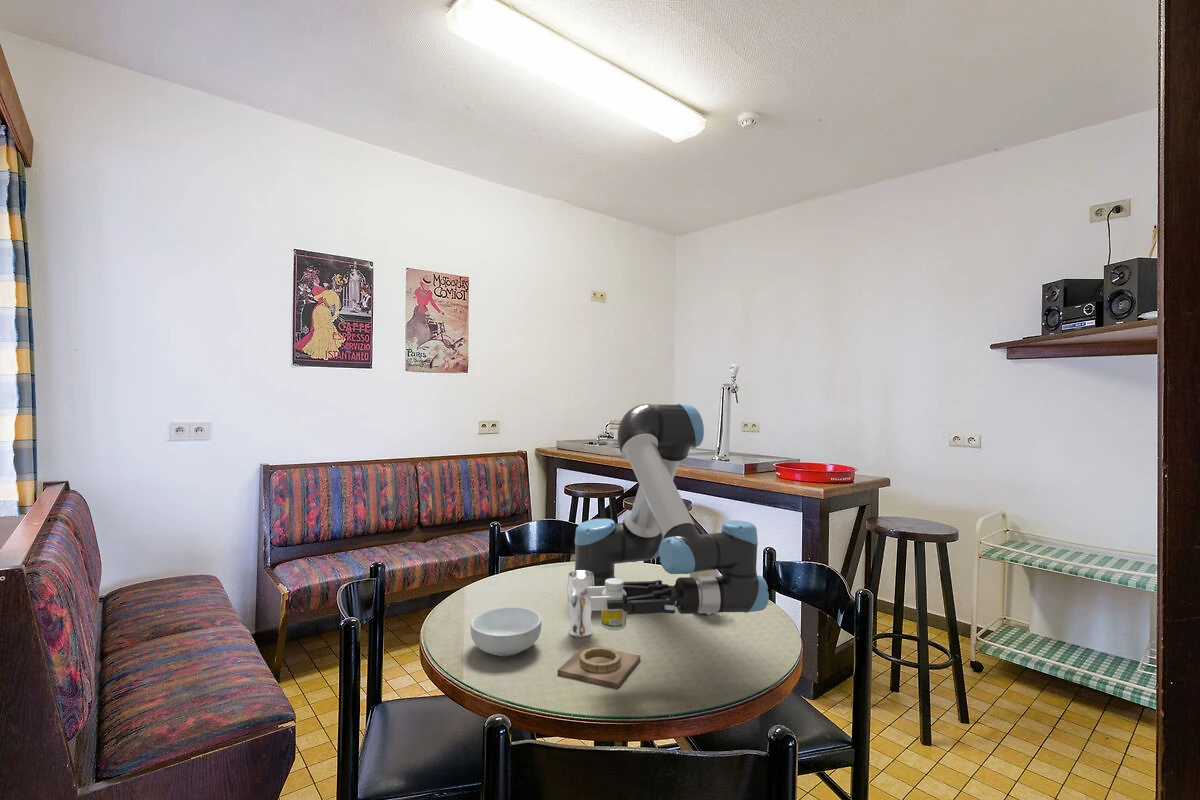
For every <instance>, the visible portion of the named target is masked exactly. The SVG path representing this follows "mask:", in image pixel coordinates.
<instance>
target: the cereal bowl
mask: <svg viewBox="0 0 1200 800" xmlns="http://www.w3.org/2000/svg"><path fill="white" fill-rule="evenodd" d="M541 631H542V617H541V615H540V614H539V613H538V612H537V611H535V610H533V609H530V608H526V607H520V606H519V607H517V606H507V607H505V606H504V607H499V608H492V609H489V610H485V611H483V612H480V613H478V614H477V615H475V616H474V617H472V619H471V621H470V635H471V639H472V641H473V643H474V644H475V646H476V647H477V648H478V649H479V650H481V651H483V652H485V653H488V654H491V655H494V654H496V655H495V656H497V655H501V656H500V657H510V655H512V656H515V655H518V654H520V653H521V652H524V651H525V650H527V649H529V648H531V647H532V646H533V645H534V644H535V643H536V642H537V641H538V639H539V637H540V635H541ZM517 653H518V654H517Z"/></svg>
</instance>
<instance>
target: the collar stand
mask: <svg viewBox="0 0 1200 800" xmlns="http://www.w3.org/2000/svg"><path fill="white" fill-rule="evenodd" d="M640 661H641V655H639V654H636V653H634V654H633V653H629V652H626V651H625V652H624V651H619V650H615V649H614V648H611V647H606V646H595V645H590V644H583V646H582V647H581V648H579V650H577V651H576V652H575V653H574V654H573V655H572V656H571V657H569V659H567V660H566V661H565V662H564V663H563V664H562V665H561V666H560V667H559V668H558V669H557V675H558V676H561V677H562V676H563V677H566V678H567V677H568V678H571V679H575V680H580V681H585V682H588V683H593V684H598V685H601V686H605V687H610V688H614V689H618V688H619V687H620V685H622V683H623V682H624V681H625V680H626V678H627V677H628V676H629V675H630V674H631V672H632V671H633V670H634V668H635V667H636V666H637V665H638V663H639V662H640Z"/></svg>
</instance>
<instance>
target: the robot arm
mask: <svg viewBox="0 0 1200 800" xmlns="http://www.w3.org/2000/svg"><path fill="white" fill-rule="evenodd" d="M704 436H705V429H704V423H703V418H702V416H701V413H700V411H699V410H698V409H697V408H696V407H695V406H693V405H692V404H691V405H690V404H682V403H678V404H657V403H656V404H655V403H654V404H650V403H643V404H638V405H635V406H634V407H632V408H630V410H628V411H627V412H626V413H625V414H624V415H623V417H622V418H621V420H620V422H619V425H618V429H617V437H616V438H617V444H618V449H619V452H620V453H621V456H622V458H623V459H624V460H626V461H629V463H630V466H631V468H632V470H633V473H634V475H635V478H636V480H637V482H638V484H639V485H638V488H637V492H636V495H635V499H634V502H633V506H632V509H631V510H629V511H627V512H626V514H624V518H623V520H622V522H618V523H615V520H613V519H611V518H593V519H589V520H586V521H583V522H581V523H579V525H578V526H577V527H576V528H575V535H574V536H575V537H574V549H575V550H574V571H576V570H586V571H590V572H593V573H594V586H590V587H588V600H591V611H592V612H593V611H595V612H596V611H602V610H622V609H623V611H626V615H648V614H651V615H652V614H670V615H673V614H675V613H676V609H677V612H678V613H679V614H681V615H691V614H692V615H694V614H696V613H699V614H701V613H703V614H704V613H706V614H705V615H707V616H710V615H711V614H713V613H714V614H715V613H716V614H719V613H745V614H746V613H747V614H748V613H753V612H754V613H755V612H760V611H764V610H765V609H766V608H767V606H768V603H769V600H770V599H769V598H770V594H769V590H768V589H769V587H768V584H767V581H766V580H765V578H764V577H763V576H761V575H758V573H757V562H758V561H757V560H758V559H757V557H758V545H759V542H758V532H757V531H758V530H757V526H756V525H755V524H754V523H752V522H750V521H744V520H736V519H735V520H734V519H733V520H727V521H724V522H723V523H722V525H721V530H720V531H721V532H716V533H715V532H714V533H704V534H703V533H702V534H701V533H699V530H698V529H697V527H696V525H695V523H694V521H693V519H692V517H691V514H690V512H689V510H688V508H687V506H686V505H685V503H684V501H683V498H682V496H681V495H680V492H679V491H678V488H677V485H676V484H675V482H674V479H675V477H676V472H677V470H678V466H679V464H680V462H682V461H684V460H686V459H687V457H688V455H689V452H690V450H691V448H693V449H696V448H697V447H699V446H701V444H702V443H703V441H704ZM658 557H659V562H660V565H661V567H662V569H663V570H664V571H665V572H667V574H670V575H688V574H689V575H690V573H692V572H699V571H706V570H715V571H716V570H721V576H715V577H714V576H709V577H696V578H695V579H694V578H693V577H690V576H688V577H685V576H684V577H683V576H681V577H677V578H676V580H675V584H674V585H669V584H667V583H666V584H665V583H663V581H662V580H660V579H658V580H650V581H648V580H647V581H646V580H645V581H642V580H641V581H639V580H638V581H624V587H623V590H624V591H625V592H626V595H625V594H623V600H622V596H602V592H603V590H605V589H606V588H605V580H606V579H610V578H616V576H615V565H616V564H625V563H635V562H647V561H651V560H655V559H657V558H658ZM697 611H698V612H697Z"/></svg>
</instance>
